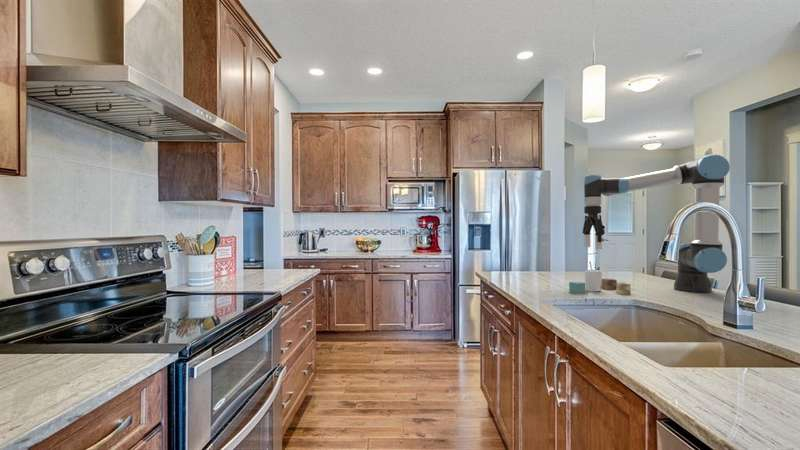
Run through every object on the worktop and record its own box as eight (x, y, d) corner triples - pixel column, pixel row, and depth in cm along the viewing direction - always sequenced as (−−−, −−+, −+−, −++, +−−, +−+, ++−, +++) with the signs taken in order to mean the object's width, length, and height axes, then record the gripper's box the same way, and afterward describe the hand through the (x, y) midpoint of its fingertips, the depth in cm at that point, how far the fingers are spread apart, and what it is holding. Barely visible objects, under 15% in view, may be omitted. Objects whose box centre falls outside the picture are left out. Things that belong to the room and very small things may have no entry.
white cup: (605, 290, 189) (605, 270, 189) (597, 292, 184) (596, 272, 184) (590, 288, 195) (589, 269, 195) (581, 290, 191) (581, 270, 191)
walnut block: (610, 288, 197) (610, 278, 197) (616, 289, 192) (616, 279, 192) (601, 288, 197) (601, 278, 197) (607, 289, 192) (607, 280, 192)
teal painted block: (577, 291, 188) (577, 281, 188) (585, 293, 183) (585, 282, 183) (569, 292, 186) (569, 282, 186) (577, 294, 181) (577, 283, 181)
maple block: (628, 292, 183) (628, 282, 183) (630, 294, 178) (630, 284, 178) (616, 292, 185) (616, 282, 185) (618, 294, 180) (618, 283, 180)
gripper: (575, 207, 203) (575, 246, 203) (595, 204, 178) (595, 249, 178) (590, 206, 202) (590, 246, 202) (612, 204, 177) (612, 249, 177)
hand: (592, 248), depth 190 cm, fingers open, 13 cm apart
